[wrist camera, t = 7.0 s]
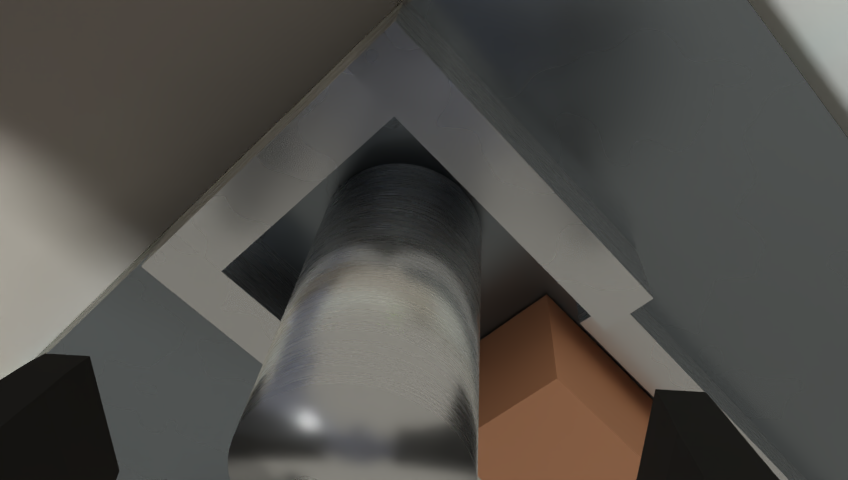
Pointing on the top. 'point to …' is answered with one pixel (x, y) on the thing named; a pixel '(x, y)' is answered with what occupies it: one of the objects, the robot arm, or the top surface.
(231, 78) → the top surface
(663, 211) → the slate board
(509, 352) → the orange rectangular block
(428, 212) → the cylinder
